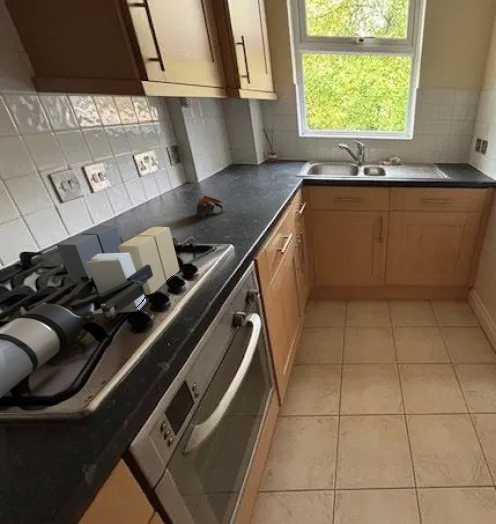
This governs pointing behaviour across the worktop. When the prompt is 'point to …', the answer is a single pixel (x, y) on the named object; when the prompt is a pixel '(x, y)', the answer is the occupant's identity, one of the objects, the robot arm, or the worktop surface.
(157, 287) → the cream boxes
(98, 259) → the cosmetic box
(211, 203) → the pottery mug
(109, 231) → the grey books
